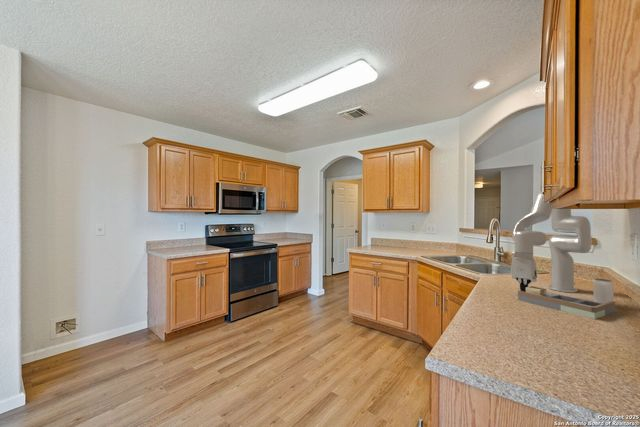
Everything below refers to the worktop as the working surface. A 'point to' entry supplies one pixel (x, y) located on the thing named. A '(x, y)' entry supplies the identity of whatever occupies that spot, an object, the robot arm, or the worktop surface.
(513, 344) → the worktop surface
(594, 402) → the worktop surface
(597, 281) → the can
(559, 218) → the robot arm
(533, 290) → the block
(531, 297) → the trap deck
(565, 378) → the worktop surface
